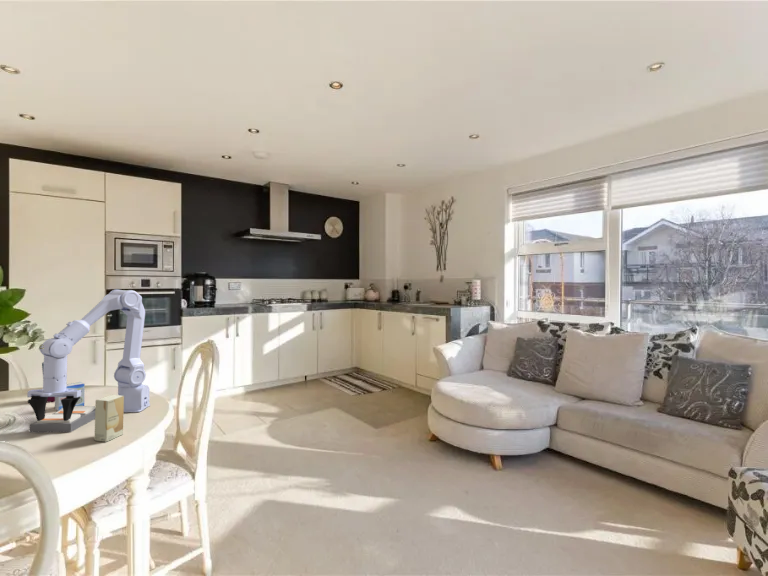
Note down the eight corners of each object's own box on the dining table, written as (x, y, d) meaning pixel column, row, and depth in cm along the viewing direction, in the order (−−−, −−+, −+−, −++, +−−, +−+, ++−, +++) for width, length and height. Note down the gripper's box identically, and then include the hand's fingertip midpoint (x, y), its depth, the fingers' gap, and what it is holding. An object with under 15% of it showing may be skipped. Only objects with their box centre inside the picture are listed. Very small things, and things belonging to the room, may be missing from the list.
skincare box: (106, 442, 115) (106, 401, 115) (93, 441, 116) (94, 400, 115) (124, 434, 121) (124, 395, 121) (112, 432, 122) (112, 394, 122)
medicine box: (57, 411, 139) (58, 387, 139) (54, 409, 142) (54, 385, 142) (84, 406, 145) (84, 383, 145) (80, 403, 148) (81, 381, 148)
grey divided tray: (101, 415, 137) (101, 408, 136) (70, 432, 122) (70, 423, 122) (64, 415, 135) (64, 408, 135) (29, 432, 121) (29, 424, 120)
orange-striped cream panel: (95, 408, 135) (95, 405, 135) (85, 416, 130) (85, 413, 130) (65, 408, 134) (65, 405, 134) (55, 416, 129) (54, 413, 129)
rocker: (80, 417, 128) (80, 414, 128) (69, 423, 123) (69, 420, 123) (49, 417, 127) (49, 414, 127) (36, 423, 122) (36, 420, 122)
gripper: (19, 379, 118) (18, 424, 118) (70, 379, 119) (69, 424, 119) (38, 374, 125) (36, 416, 125) (86, 374, 126) (84, 416, 126)
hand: (53, 419), depth 123 cm, fingers open, 7 cm apart
